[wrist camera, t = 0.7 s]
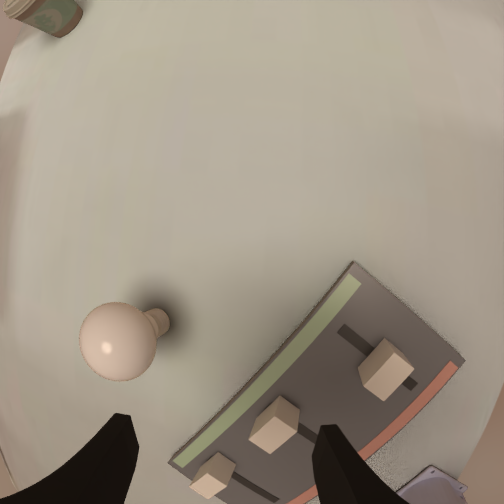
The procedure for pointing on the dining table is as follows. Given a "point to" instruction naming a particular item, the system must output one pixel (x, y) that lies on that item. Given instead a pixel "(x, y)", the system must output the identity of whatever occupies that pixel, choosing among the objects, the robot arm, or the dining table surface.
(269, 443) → the breaker middle
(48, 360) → the dining table surface
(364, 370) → the block
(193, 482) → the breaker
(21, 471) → the dining table surface
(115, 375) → the lightbulb
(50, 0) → the coffee cup
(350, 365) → the breaker panel
